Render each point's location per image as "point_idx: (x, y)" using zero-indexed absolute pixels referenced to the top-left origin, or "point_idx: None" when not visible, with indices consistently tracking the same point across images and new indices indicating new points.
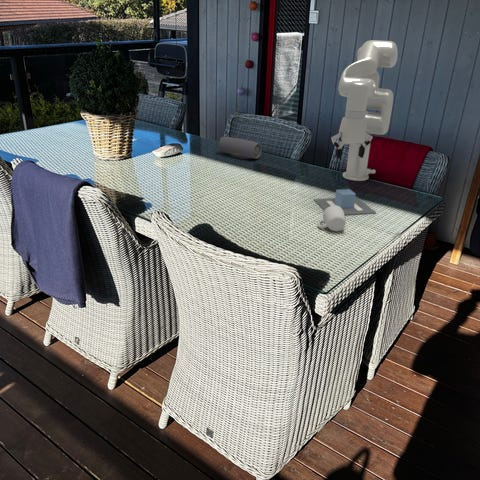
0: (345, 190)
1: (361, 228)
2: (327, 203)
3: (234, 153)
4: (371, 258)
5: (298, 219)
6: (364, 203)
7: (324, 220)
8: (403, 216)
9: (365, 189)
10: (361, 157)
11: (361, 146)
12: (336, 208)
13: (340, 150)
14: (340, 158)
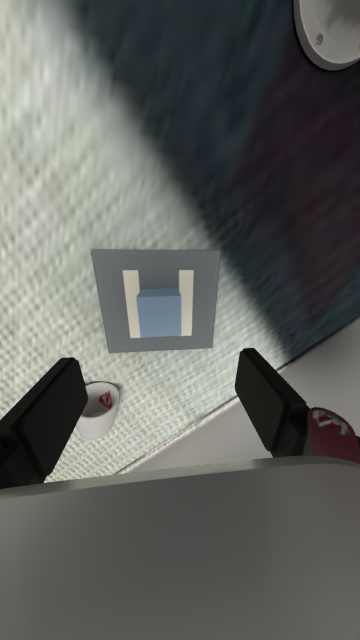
0: (163, 306)
1: (152, 398)
2: (122, 286)
3: None
4: (129, 466)
5: (35, 358)
6: (214, 299)
7: None
8: None
9: (284, 180)
10: (236, 388)
11: (289, 439)
12: (90, 427)
13: (36, 473)
14: (84, 403)
